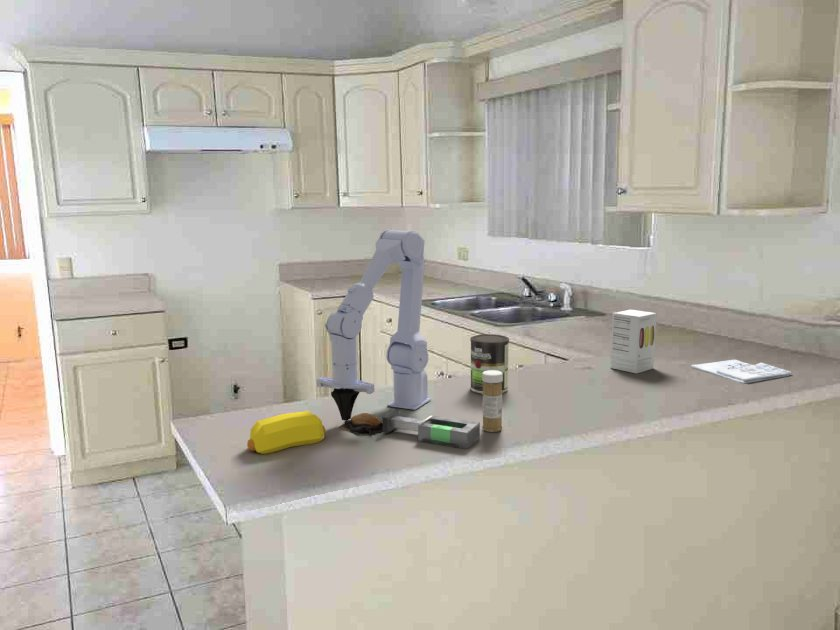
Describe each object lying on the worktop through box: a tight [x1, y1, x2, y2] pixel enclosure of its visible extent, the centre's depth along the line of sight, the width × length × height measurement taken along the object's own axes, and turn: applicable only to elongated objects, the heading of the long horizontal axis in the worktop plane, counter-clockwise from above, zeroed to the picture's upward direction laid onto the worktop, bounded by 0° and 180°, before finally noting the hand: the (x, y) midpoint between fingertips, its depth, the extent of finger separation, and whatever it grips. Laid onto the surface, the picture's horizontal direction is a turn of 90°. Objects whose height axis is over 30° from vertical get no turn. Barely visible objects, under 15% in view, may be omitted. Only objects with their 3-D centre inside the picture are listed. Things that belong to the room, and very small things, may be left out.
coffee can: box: [469, 333, 510, 395], centre depth 196 cm, size 10×10×14 cm
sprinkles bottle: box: [481, 370, 503, 433], centre depth 165 cm, size 5×5×13 cm
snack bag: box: [690, 359, 793, 385], centre depth 212 cm, size 19×20×2 cm
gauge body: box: [417, 415, 481, 450], centre depth 159 cm, size 7×12×4 cm, turn 64°
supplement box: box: [609, 309, 657, 375], centre depth 215 cm, size 10×9×17 cm
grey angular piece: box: [381, 409, 434, 435], centre depth 164 cm, size 6×10×4 cm, turn 64°
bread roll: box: [338, 412, 383, 436], centre depth 168 cm, size 11×8×4 cm
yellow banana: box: [246, 410, 326, 455], centre depth 158 cm, size 18×7×8 cm
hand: (346, 419), depth 171 cm, fingers closed
